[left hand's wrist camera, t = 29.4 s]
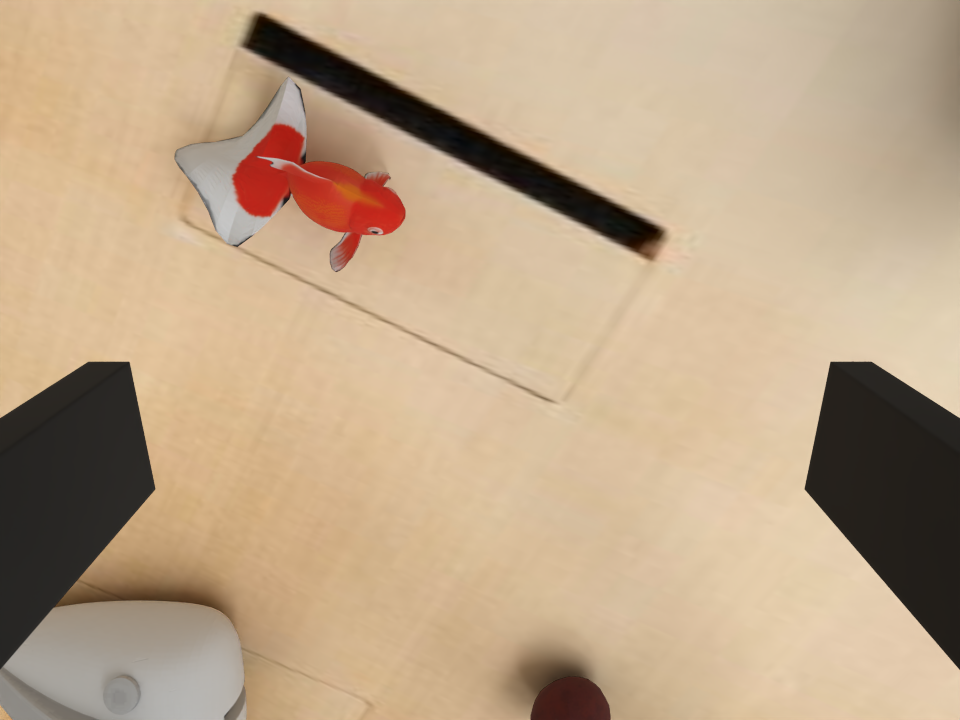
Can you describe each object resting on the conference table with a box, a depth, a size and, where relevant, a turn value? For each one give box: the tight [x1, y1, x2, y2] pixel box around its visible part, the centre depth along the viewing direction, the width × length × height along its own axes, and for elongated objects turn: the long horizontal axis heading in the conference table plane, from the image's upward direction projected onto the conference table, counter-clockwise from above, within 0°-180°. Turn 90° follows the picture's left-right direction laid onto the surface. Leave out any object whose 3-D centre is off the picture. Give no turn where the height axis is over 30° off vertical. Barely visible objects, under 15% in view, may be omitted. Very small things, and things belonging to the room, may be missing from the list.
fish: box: [175, 77, 405, 272], centre depth 43 cm, size 11×16×10 cm
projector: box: [0, 600, 247, 720], centre depth 55 cm, size 22×23×15 cm
